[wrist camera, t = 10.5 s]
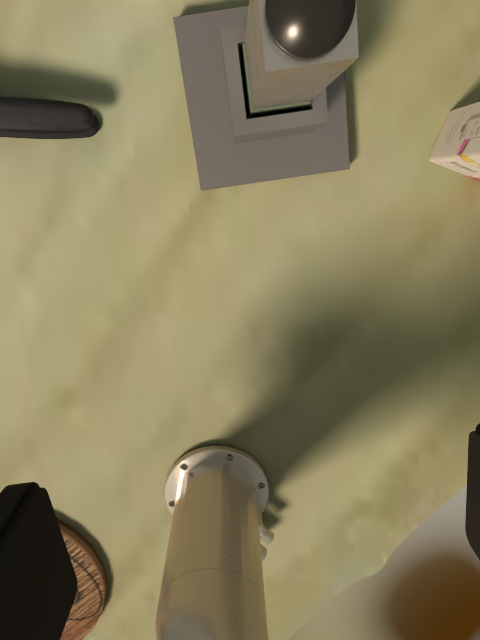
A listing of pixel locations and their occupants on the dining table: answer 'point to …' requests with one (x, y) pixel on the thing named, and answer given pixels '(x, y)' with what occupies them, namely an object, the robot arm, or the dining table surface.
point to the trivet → (84, 585)
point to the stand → (233, 114)
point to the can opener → (45, 119)
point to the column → (296, 51)
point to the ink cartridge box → (460, 142)
